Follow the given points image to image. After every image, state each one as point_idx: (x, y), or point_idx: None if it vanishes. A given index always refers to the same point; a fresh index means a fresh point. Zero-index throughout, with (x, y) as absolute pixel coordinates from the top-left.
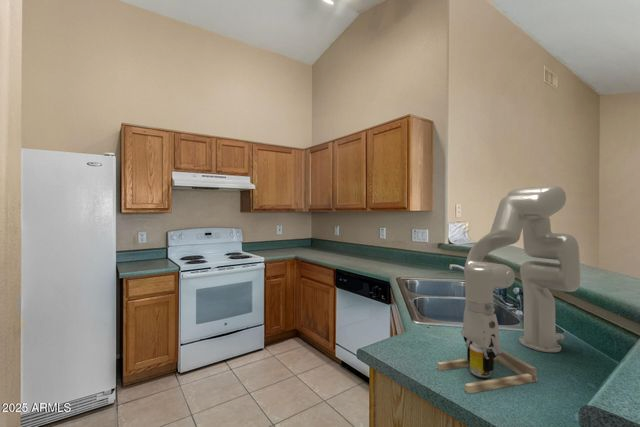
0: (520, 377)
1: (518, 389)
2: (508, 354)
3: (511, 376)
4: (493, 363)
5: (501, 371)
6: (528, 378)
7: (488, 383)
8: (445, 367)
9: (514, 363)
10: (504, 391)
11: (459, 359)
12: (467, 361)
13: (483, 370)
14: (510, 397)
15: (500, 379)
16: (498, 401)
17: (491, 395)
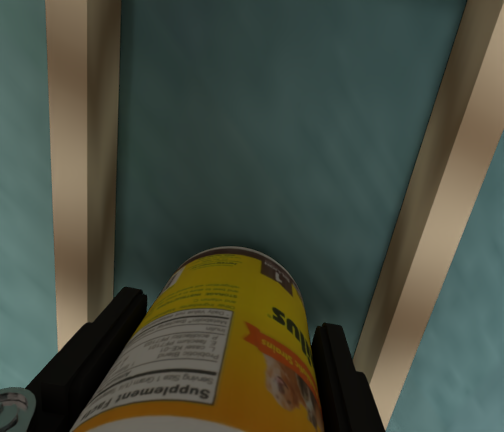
0: (496, 143)
1: (478, 220)
2: None
3: (437, 205)
4: (355, 372)
5: (260, 85)
6: None
7: (384, 423)
8: None
9: None
10: (432, 322)
11: (58, 335)
12: (92, 289)
13: None
14: (487, 347)
15: (408, 325)
16: (462, 427)
17: (410, 412)
